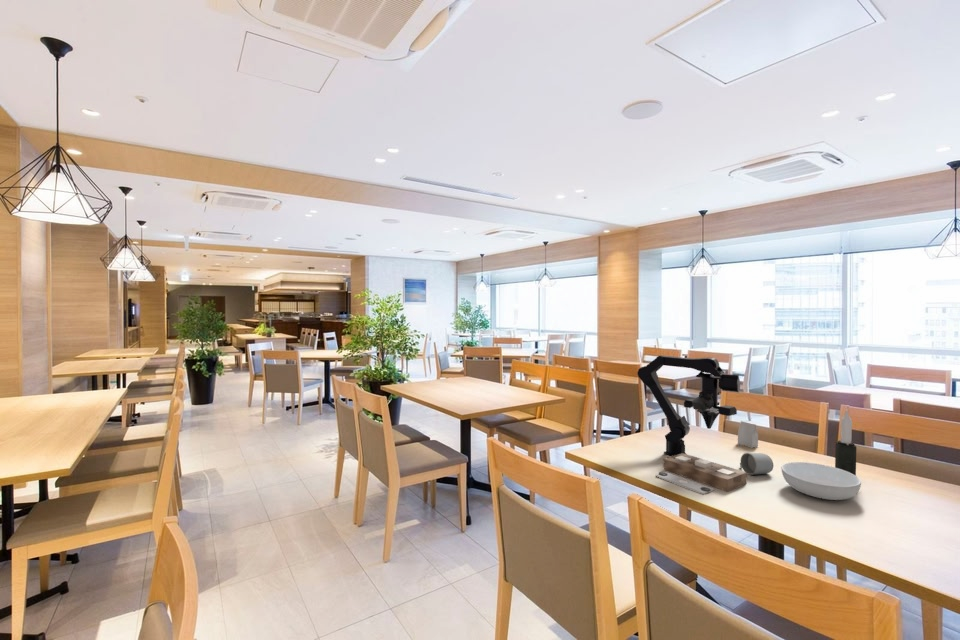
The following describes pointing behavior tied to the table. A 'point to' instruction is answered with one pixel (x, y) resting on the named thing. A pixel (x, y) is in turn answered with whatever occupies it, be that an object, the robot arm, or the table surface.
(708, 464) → the middle button
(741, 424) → the grey angular block
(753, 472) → the ceramic mug
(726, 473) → the button
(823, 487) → the serving bowl
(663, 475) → the pattern card
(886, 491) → the table surface
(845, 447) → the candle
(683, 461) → the button
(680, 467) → the button board
